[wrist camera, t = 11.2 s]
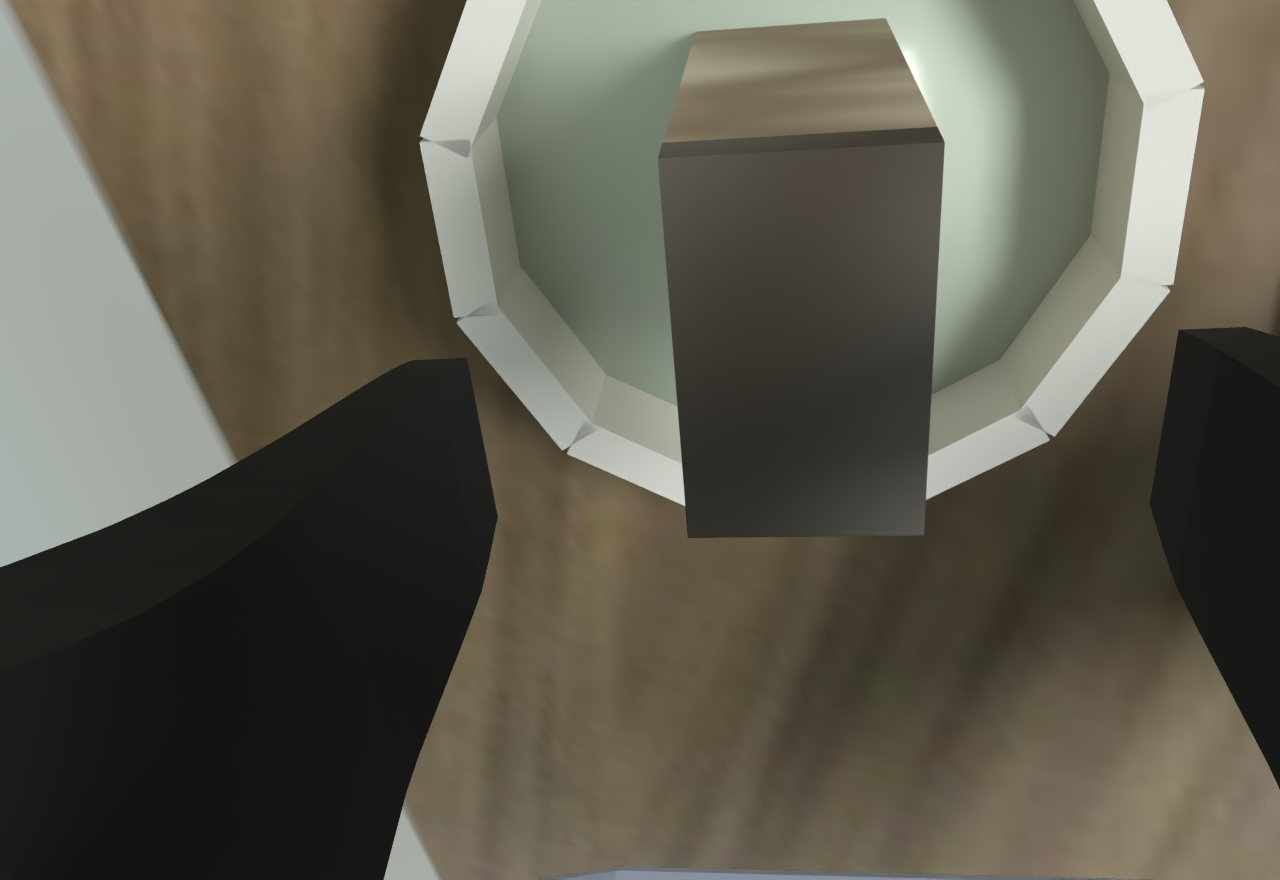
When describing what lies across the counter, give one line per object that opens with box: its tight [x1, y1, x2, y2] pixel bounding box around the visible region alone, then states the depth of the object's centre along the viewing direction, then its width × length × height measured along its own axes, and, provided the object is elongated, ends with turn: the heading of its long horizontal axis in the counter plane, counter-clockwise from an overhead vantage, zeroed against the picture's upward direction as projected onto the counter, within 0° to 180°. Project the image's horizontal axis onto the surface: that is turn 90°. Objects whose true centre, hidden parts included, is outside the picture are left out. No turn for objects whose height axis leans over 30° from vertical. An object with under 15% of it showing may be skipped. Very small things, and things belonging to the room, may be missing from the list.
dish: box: [419, 0, 1204, 506], centre depth 18 cm, size 12×12×2 cm
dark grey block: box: [658, 18, 945, 538], centre depth 16 cm, size 3×5×7 cm, turn 5°
